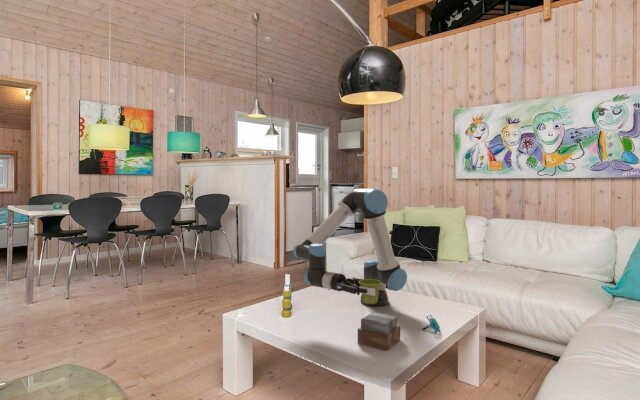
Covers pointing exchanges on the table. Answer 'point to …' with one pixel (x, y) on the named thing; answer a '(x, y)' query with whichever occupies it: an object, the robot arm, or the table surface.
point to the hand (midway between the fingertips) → (380, 289)
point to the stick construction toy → (432, 324)
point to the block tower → (379, 331)
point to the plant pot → (370, 284)
